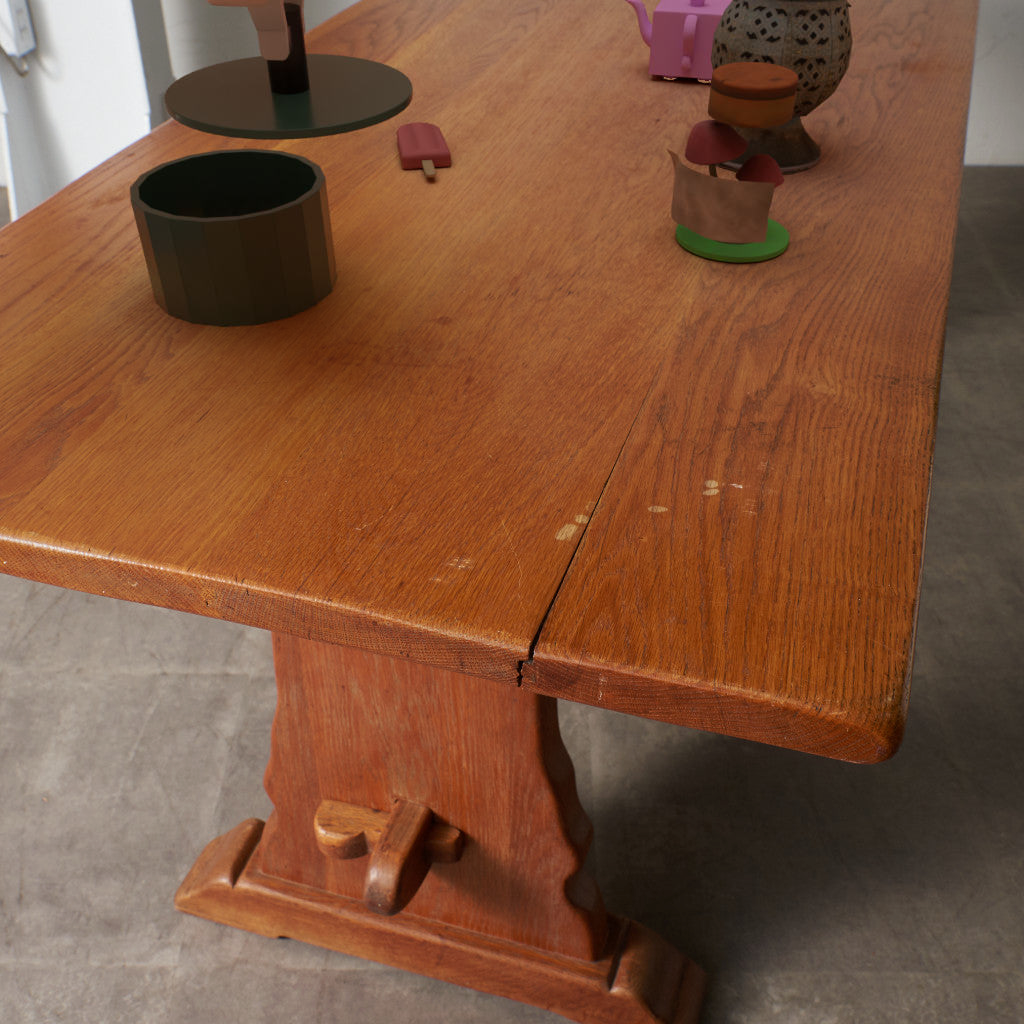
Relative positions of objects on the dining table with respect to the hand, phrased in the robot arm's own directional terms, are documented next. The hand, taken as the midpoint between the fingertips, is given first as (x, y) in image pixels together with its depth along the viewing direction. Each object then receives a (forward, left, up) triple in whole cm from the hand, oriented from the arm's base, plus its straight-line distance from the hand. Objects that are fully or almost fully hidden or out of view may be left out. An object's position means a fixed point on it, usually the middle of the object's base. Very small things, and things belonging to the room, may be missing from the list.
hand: (284, 48), depth 66 cm
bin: (-9, +10, -22) cm, 26 cm away
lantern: (+41, +45, -23) cm, 65 cm away
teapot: (+35, +75, -23) cm, 86 cm away
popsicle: (+3, +42, -23) cm, 47 cm away
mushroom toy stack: (+34, +22, -23) cm, 47 cm away
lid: (0, 0, -3) cm, 3 cm away
